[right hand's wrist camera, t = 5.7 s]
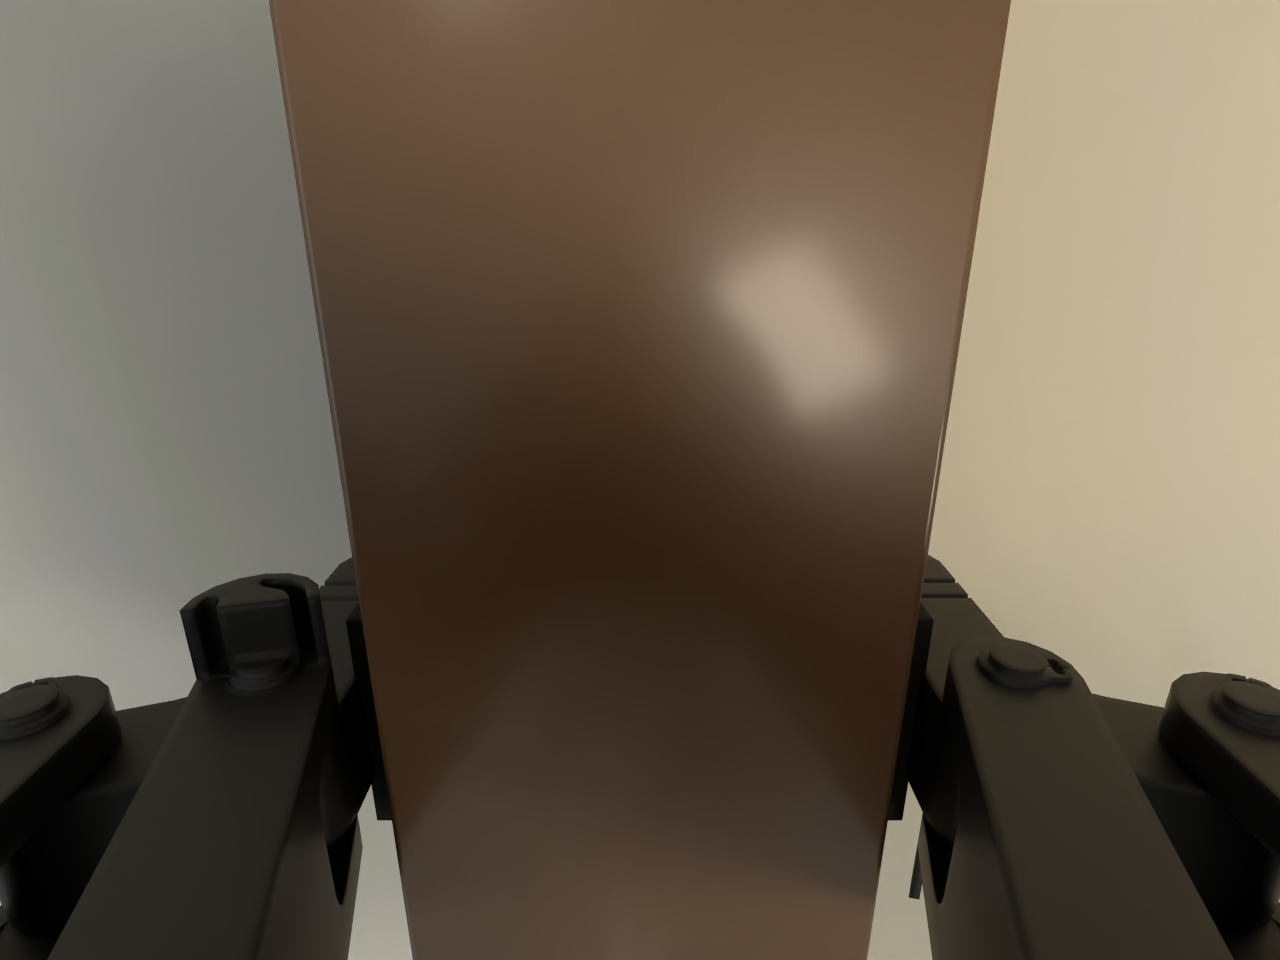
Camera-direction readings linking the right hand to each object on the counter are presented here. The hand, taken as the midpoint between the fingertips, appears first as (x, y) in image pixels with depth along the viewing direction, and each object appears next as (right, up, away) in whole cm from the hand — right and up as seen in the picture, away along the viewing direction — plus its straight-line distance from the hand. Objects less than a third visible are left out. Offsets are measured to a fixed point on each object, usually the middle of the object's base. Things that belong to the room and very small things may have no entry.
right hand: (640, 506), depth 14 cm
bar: (0, +30, -10) cm, 31 cm away
